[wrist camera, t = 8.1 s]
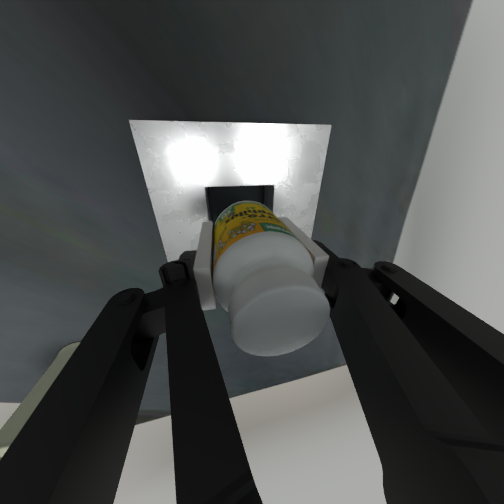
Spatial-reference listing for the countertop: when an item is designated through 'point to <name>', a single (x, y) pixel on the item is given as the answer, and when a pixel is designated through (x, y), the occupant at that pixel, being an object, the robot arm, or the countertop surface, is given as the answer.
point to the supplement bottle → (265, 282)
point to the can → (33, 399)
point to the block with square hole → (227, 171)
